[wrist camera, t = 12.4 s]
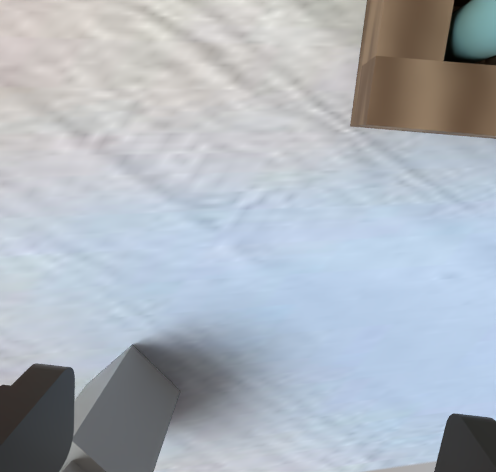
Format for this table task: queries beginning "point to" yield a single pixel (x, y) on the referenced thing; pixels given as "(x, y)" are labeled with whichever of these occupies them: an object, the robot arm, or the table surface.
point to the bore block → (420, 73)
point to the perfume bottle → (122, 417)
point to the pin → (472, 32)
